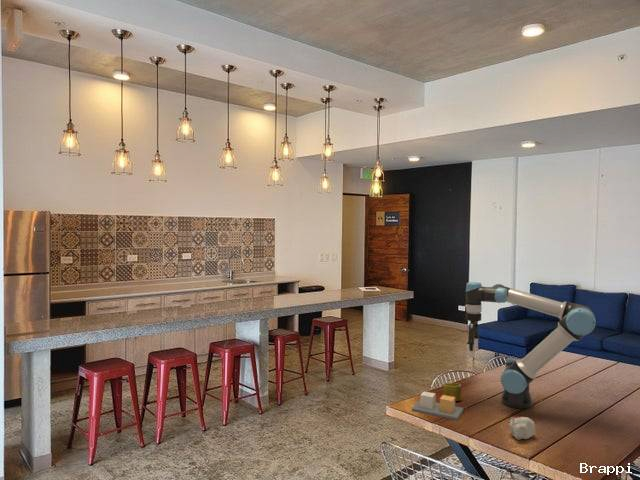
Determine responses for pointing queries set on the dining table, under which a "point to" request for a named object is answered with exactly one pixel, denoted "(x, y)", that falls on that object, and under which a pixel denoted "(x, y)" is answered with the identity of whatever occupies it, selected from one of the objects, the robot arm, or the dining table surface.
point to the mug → (452, 390)
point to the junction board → (434, 407)
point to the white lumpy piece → (522, 427)
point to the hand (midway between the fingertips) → (473, 354)
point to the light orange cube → (447, 404)
